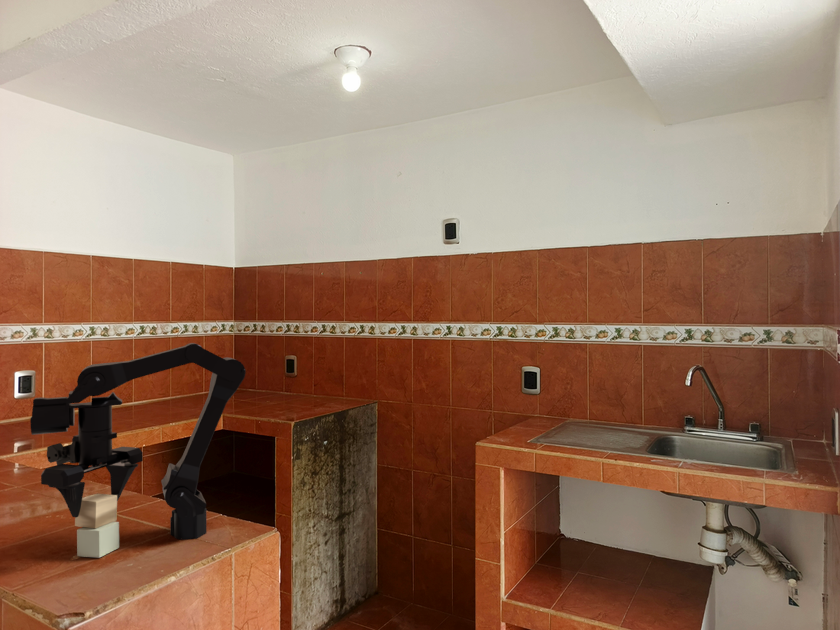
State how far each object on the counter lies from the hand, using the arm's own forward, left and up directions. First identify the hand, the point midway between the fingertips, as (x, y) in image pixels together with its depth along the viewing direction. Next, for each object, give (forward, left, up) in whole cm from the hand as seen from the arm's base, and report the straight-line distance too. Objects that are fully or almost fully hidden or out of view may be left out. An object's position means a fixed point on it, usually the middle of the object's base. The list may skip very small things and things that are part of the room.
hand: (95, 508), depth 109 cm
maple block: (0, 0, -3) cm, 3 cm away
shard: (0, 0, -10) cm, 10 cm away
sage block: (-1, +1, -8) cm, 8 cm away
